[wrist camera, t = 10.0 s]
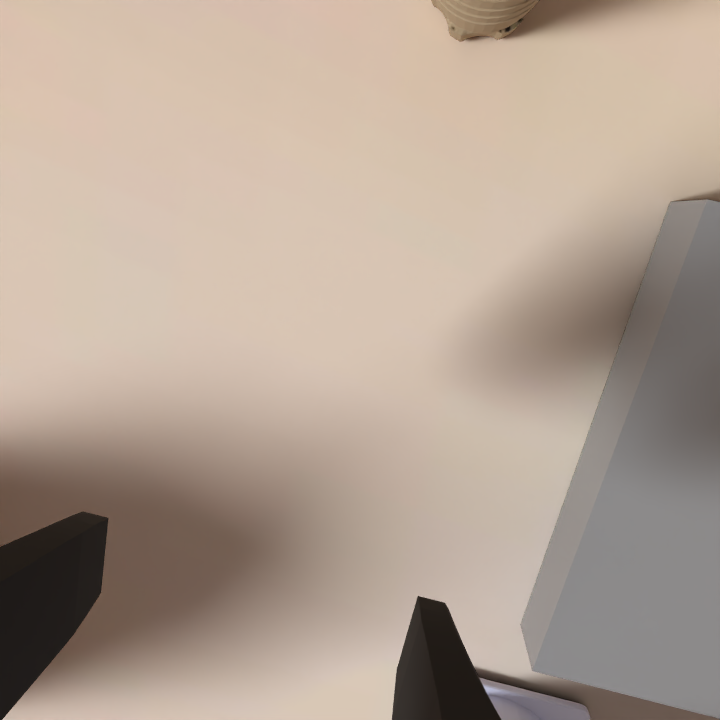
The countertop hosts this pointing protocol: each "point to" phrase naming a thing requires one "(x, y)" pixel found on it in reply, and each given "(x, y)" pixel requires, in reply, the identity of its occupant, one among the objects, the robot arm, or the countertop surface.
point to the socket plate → (647, 497)
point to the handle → (483, 16)
